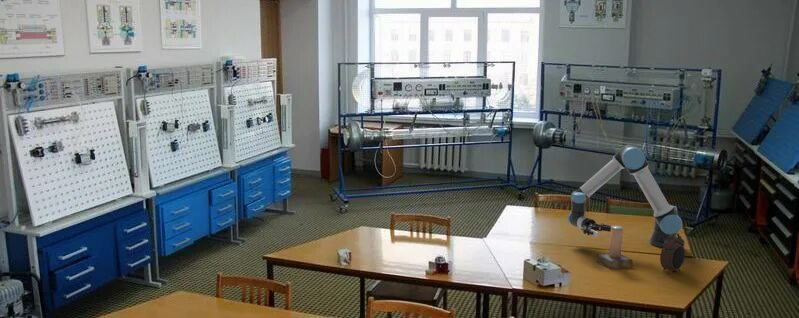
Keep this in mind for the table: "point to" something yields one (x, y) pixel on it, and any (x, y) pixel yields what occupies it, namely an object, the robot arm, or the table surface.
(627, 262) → the base stand
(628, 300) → the table surface
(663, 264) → the alarm clock
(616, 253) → the canister
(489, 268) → the table surface
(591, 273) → the table surface
